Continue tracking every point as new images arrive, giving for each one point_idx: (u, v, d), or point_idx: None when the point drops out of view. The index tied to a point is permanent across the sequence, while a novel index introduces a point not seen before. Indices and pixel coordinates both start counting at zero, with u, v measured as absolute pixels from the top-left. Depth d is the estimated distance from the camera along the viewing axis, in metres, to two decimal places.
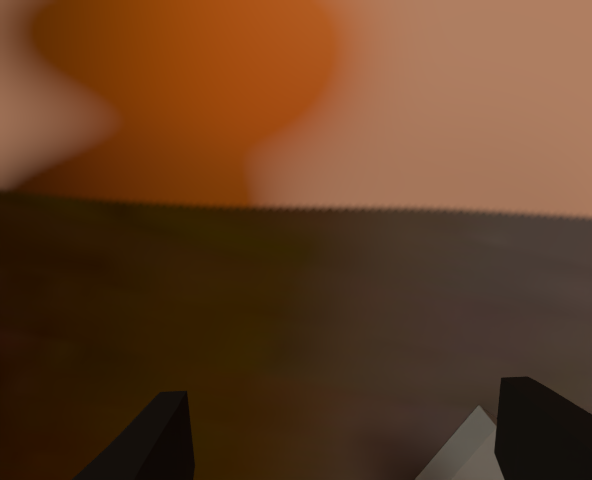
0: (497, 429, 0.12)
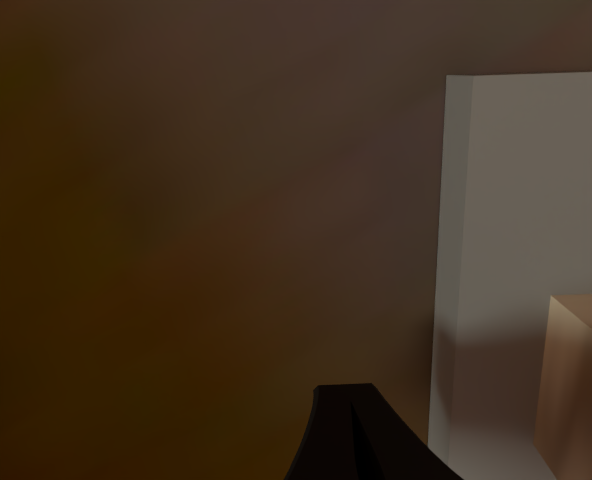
0: None
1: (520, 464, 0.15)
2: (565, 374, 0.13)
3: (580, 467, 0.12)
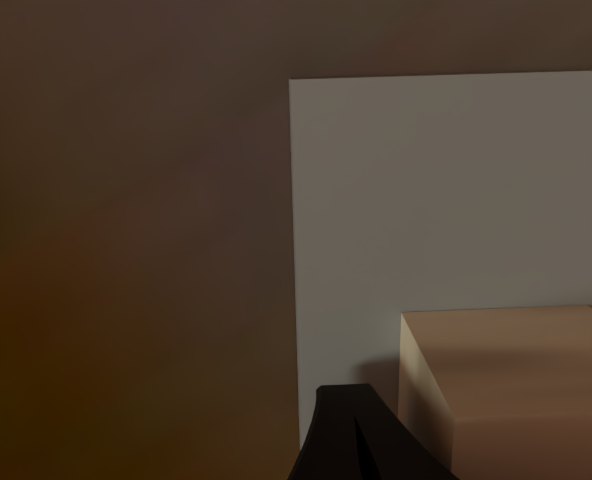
0: None
1: None
2: (409, 397, 0.12)
3: None
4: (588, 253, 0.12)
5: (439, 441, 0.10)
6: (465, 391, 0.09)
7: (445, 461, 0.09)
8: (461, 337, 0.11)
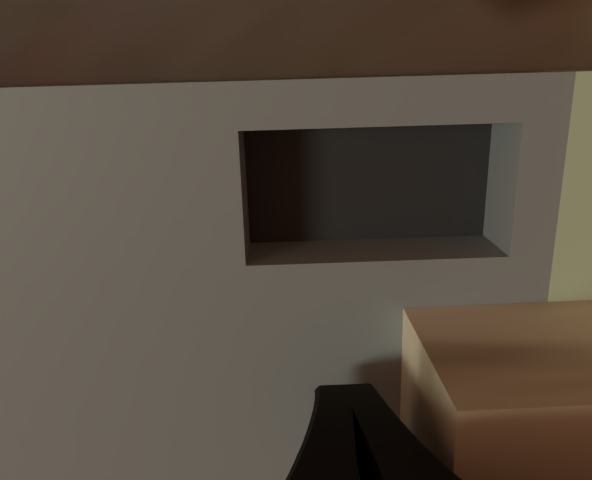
0: None
1: None
2: (411, 393, 0.12)
3: None
4: (209, 266, 0.12)
5: (442, 435, 0.10)
6: (467, 384, 0.09)
7: (447, 454, 0.09)
8: (463, 332, 0.11)
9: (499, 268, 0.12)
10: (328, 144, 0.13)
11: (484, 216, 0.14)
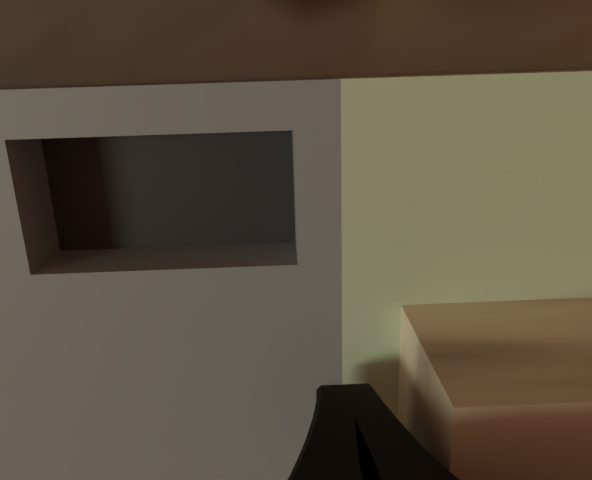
0: None
1: None
2: (409, 390, 0.12)
3: None
4: None
5: (439, 431, 0.10)
6: (465, 382, 0.09)
7: (444, 451, 0.09)
8: (461, 329, 0.11)
9: (289, 276, 0.12)
10: (128, 152, 0.13)
11: (295, 223, 0.14)
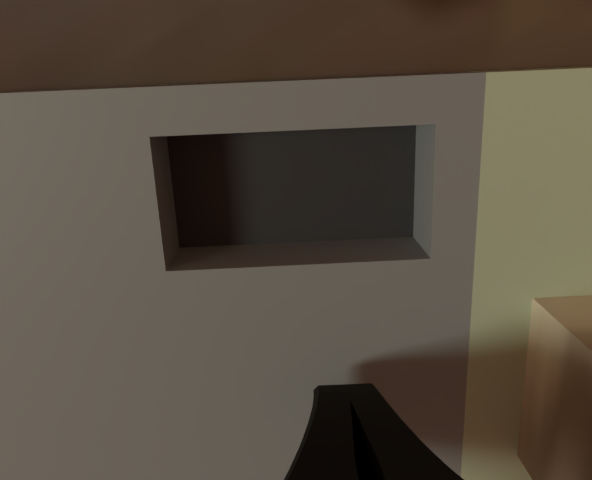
0: None
1: None
2: (547, 382, 0.12)
3: None
4: (128, 272, 0.12)
5: None
6: None
7: None
8: None
9: (421, 270, 0.12)
10: (252, 148, 0.13)
11: (413, 218, 0.14)
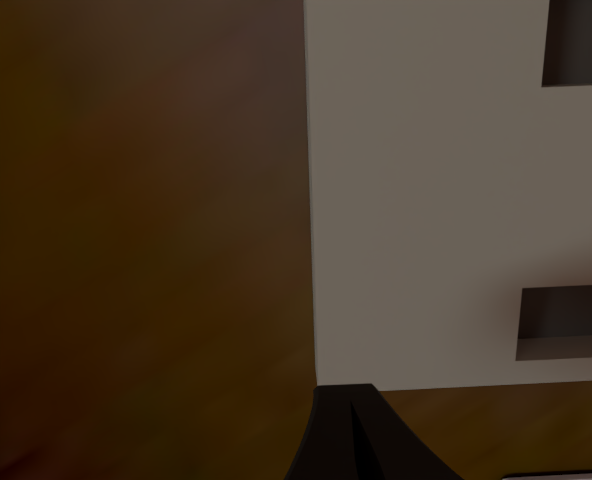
0: None
1: (371, 278, 0.19)
2: None
3: None
4: (516, 88, 0.17)
5: None
6: None
7: None
8: None
9: None
10: (584, 9, 0.18)
11: None
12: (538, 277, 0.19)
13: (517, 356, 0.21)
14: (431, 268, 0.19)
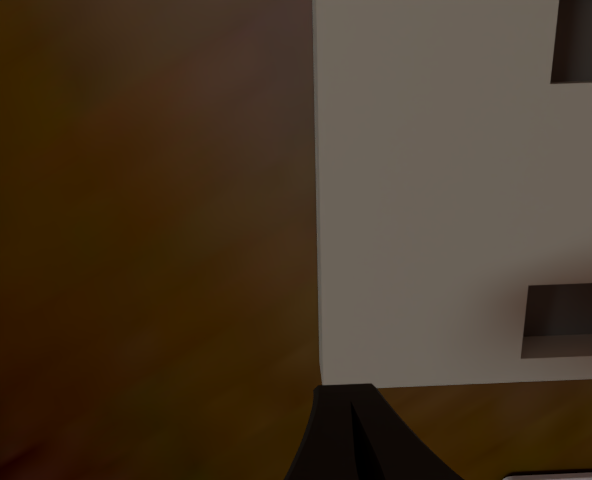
0: None
1: (377, 274, 0.19)
2: None
3: None
4: (524, 84, 0.17)
5: None
6: None
7: None
8: None
9: None
10: None
11: None
12: (544, 274, 0.19)
13: (522, 354, 0.21)
14: (437, 265, 0.19)
